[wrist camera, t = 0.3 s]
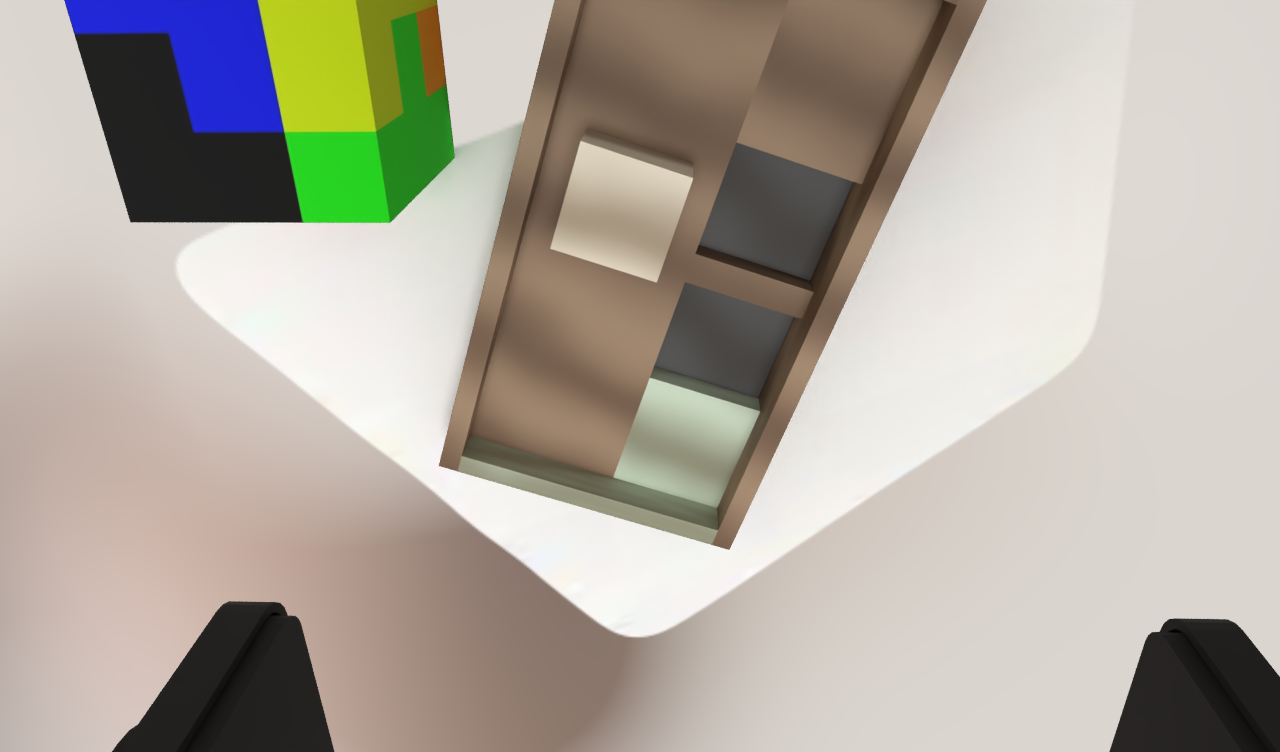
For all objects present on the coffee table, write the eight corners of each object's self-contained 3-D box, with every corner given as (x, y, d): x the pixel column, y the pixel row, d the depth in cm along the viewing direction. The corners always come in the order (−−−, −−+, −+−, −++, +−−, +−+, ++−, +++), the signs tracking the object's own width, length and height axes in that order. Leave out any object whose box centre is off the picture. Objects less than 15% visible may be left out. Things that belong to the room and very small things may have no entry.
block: (586, 128, 39) (580, 140, 36) (693, 163, 39) (693, 178, 37) (557, 230, 41) (550, 248, 39) (658, 263, 41) (656, 282, 39)
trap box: (603, -153, 35) (594, -160, 32) (967, -19, 36) (992, -14, 33) (455, 430, 48) (438, 465, 45) (727, 510, 50) (729, 549, 47)
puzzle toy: (196, -77, 37) (41, -76, 28) (427, -81, 37) (343, -81, 28) (249, 157, 42) (130, 222, 33) (454, 157, 41) (390, 222, 32)
